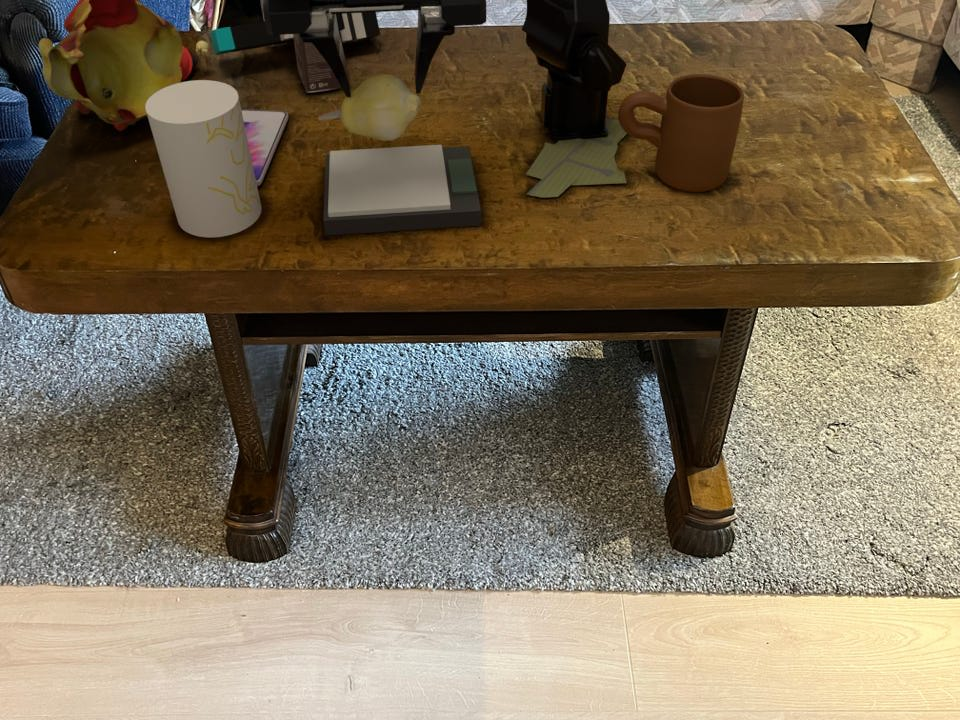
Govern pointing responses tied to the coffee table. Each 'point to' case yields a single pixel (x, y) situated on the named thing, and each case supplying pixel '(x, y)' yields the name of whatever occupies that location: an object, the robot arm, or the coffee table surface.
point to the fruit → (378, 108)
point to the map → (578, 163)
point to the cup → (205, 157)
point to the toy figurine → (192, 58)
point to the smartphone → (263, 137)
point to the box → (313, 68)
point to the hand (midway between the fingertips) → (383, 93)
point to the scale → (399, 189)
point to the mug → (689, 129)
